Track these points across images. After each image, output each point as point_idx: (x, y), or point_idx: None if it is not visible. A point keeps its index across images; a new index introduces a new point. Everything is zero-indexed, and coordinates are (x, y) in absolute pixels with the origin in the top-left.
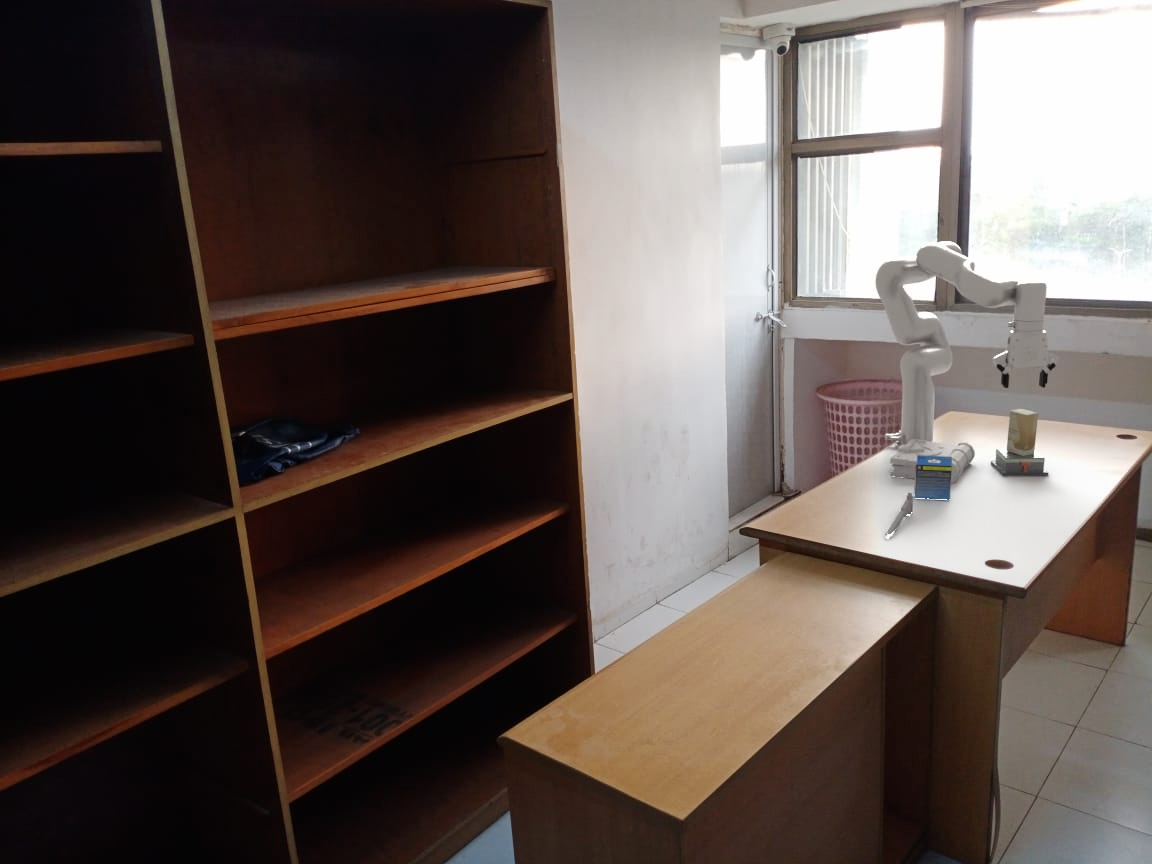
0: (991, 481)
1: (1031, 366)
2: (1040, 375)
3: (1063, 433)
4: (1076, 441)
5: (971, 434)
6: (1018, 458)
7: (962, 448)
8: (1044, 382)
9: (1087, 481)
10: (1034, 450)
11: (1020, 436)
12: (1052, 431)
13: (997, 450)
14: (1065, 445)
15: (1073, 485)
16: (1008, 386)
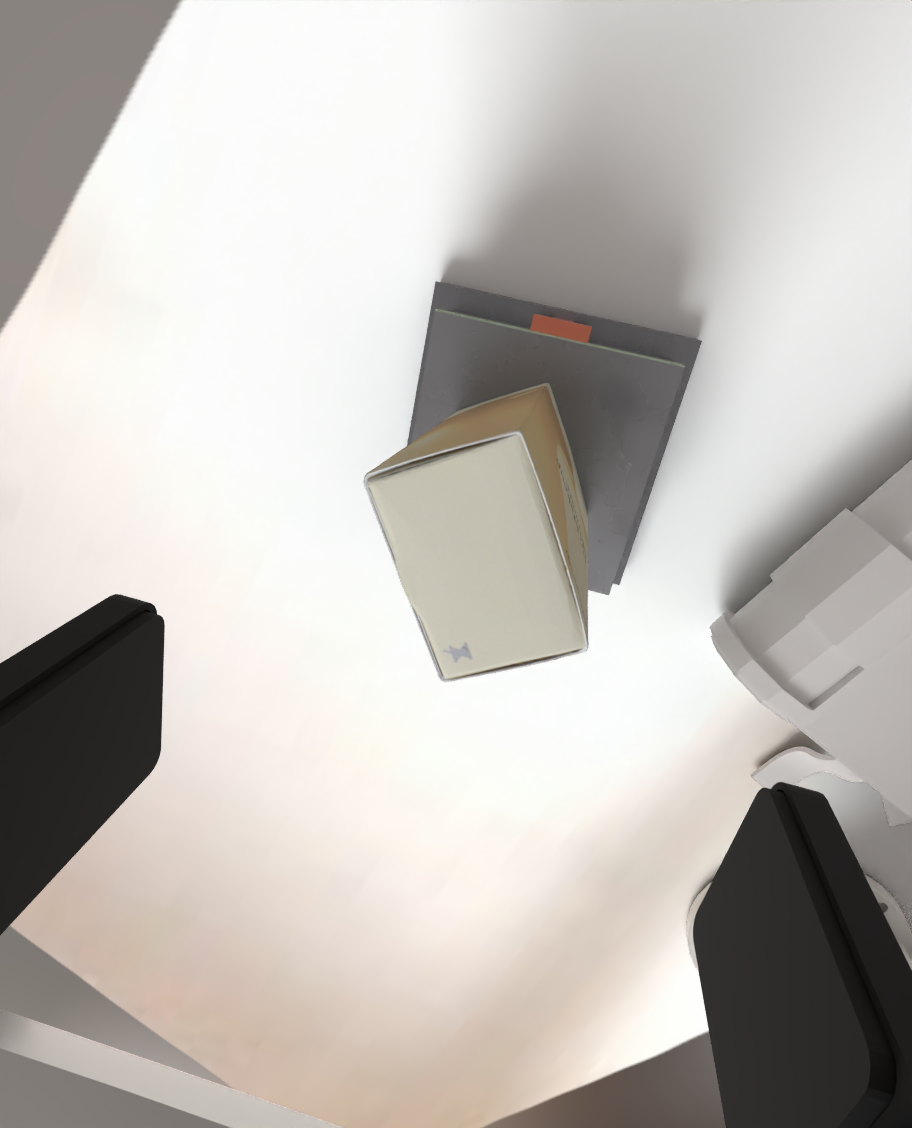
0: (838, 246)
1: (119, 1116)
2: (20, 873)
3: (89, 862)
4: None
5: (440, 975)
6: (604, 348)
7: (887, 597)
8: (72, 638)
9: (279, 119)
10: None
11: (554, 441)
12: (118, 896)
13: (616, 569)
14: None
15: (393, 44)
16: (775, 796)
